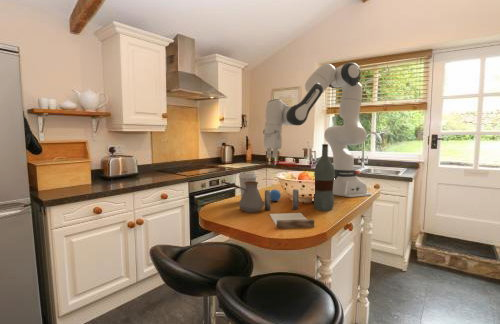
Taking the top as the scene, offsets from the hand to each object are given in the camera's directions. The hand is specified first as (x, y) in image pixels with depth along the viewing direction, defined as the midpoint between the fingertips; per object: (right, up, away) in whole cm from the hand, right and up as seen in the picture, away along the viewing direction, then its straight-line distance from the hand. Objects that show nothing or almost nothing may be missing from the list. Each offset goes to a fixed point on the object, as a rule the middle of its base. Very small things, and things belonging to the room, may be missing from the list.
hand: (271, 157), depth 148 cm
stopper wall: (+6, -27, -41) cm, 50 cm away
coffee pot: (-14, -25, -22) cm, 36 cm away
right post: (+10, -24, -17) cm, 31 cm away
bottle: (+23, -25, -16) cm, 37 cm away
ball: (+1, -20, -2) cm, 20 cm away
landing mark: (+5, -26, -32) cm, 41 cm away
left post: (-3, -25, -18) cm, 31 cm away
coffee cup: (-12, -23, -3) cm, 27 cm away
